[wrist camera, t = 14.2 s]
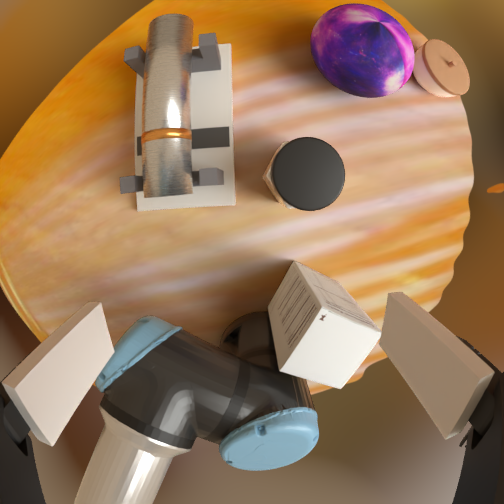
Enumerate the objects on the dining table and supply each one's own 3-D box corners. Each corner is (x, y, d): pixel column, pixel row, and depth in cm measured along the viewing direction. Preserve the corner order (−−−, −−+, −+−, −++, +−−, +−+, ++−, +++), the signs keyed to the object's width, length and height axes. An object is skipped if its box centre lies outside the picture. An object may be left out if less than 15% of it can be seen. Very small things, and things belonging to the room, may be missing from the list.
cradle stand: (235, 204, 40) (231, 211, 31) (141, 210, 40) (112, 219, 31) (231, 47, 34) (227, 15, 24) (141, 60, 34) (118, 35, 24)
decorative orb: (343, 21, 32) (374, -24, 18) (400, 83, 35) (450, 56, 21) (282, 56, 34) (297, 6, 20) (346, 125, 37) (392, 101, 23)
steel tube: (203, 192, 32) (170, 196, 27) (166, 194, 35) (133, 199, 30) (202, 25, 26) (174, 8, 21) (168, 39, 29) (139, 26, 24)
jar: (302, 215, 41) (323, 227, 29) (254, 190, 40) (257, 193, 28) (328, 163, 39) (359, 157, 27) (281, 137, 38) (294, 120, 26)
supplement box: (265, 307, 44) (274, 371, 28) (292, 258, 43) (318, 304, 26) (314, 327, 46) (341, 391, 29) (342, 282, 44) (385, 333, 27)
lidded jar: (400, 86, 35) (430, 71, 26) (403, 43, 33) (428, 24, 24) (444, 112, 36) (476, 104, 27) (446, 69, 34) (473, 57, 24)
